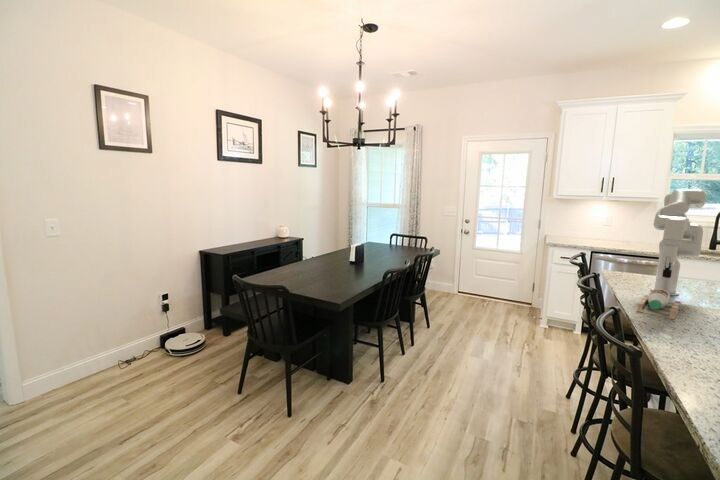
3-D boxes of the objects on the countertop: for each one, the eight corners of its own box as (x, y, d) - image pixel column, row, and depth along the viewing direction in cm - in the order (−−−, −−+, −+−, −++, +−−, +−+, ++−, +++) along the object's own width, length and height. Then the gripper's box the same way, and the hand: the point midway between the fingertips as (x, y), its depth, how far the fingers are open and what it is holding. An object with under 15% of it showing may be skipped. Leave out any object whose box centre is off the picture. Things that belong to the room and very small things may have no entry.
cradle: (643, 302, 184) (645, 294, 184) (679, 309, 174) (680, 301, 174) (636, 310, 171) (637, 303, 170) (674, 319, 161) (676, 310, 160)
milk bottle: (674, 297, 176) (670, 307, 162) (659, 305, 181) (654, 315, 167) (661, 285, 179) (656, 294, 166) (646, 293, 184) (640, 302, 170)
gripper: (664, 239, 184) (659, 273, 187) (660, 243, 174) (654, 278, 177) (683, 241, 179) (677, 275, 182) (680, 245, 169) (674, 281, 172)
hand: (666, 277), depth 180 cm, fingers closed
